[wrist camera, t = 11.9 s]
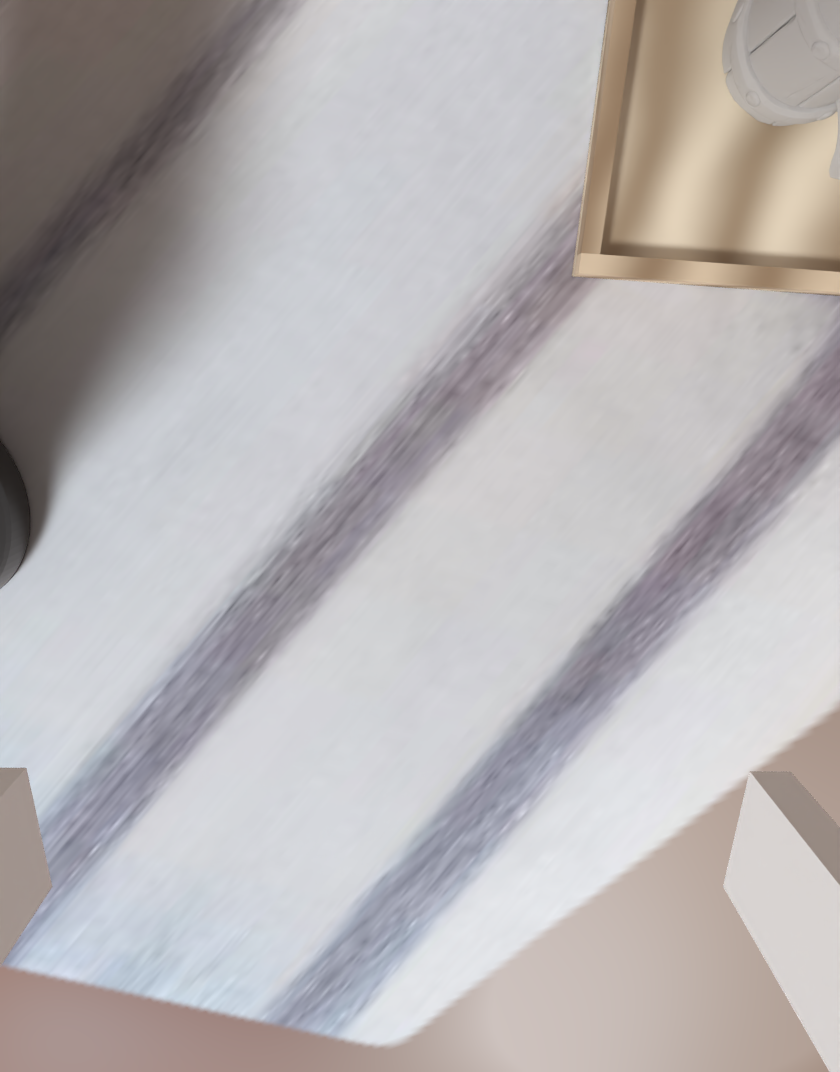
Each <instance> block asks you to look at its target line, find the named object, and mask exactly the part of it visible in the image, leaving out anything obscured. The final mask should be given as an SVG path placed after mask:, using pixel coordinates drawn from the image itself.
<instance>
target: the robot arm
mask: <svg viewBox="0 0 840 1072" xmlns="http://www.w3.org/2000/svg"><path fill="white" fill-rule="evenodd" d="M29 530H30V513H29V505H28V499H27V495H26V491H25V488H24V484H23V481H22V479H21V476H20V474H19V471H18V469H17V467H16V465H15V463H14V461H13V460H12V458H11V456H10V454H9V453H8V451H7V450H6V448H5V447H4V445H3V444H2V443H1V441H0V589H1V588H2V587H3V586H4V585H5V584H6V583H7V582H8V581H9V580H10V578H11V577H12V576H13V575H14V573H15V572H16V570H17V569H18V567H19V565H20V563H21V561H22V559H23V556H24V554H25V551H26V547H27V543H28V538H29ZM723 887H724V889H725V891H726V892H727V894H728V896H729V897H730V899H731V901H732V902H733V905H734V906H735V908H736V910H737V912H738V913H739V915H740V917H741V918H742V920H743V922H744V923H745V925H746V927H747V929H748V931H749V932H750V934H751V936H752V937H753V939H754V941H755V943H756V945H757V946H758V948H759V950H760V951H761V953H762V955H763V956H764V958H765V960H766V962H767V964H768V965H769V967H770V969H771V971H772V972H773V974H774V976H775V978H776V979H777V981H778V983H779V985H780V986H781V988H782V990H783V992H784V993H785V995H786V997H787V998H788V1000H789V1002H790V1004H791V1005H792V1007H793V1009H794V1011H795V1012H796V1014H797V1016H798V1017H799V1019H800V1021H801V1023H802V1025H803V1026H804V1028H805V1030H806V1031H807V1033H808V1035H809V1037H810V1038H811V1040H812V1042H813V1044H814V1045H815V1047H816V1049H817V1051H818V1052H819V1054H820V1056H821V1058H822V1059H823V1061H824V1063H825V1065H826V1066H827V1068H828V1070H829V1071H830V1072H840V827H839V826H838V825H837V824H836V822H835V821H834V820H833V819H832V818H831V817H830V816H829V815H828V813H827V812H826V811H825V810H824V809H823V808H822V807H821V806H820V804H819V803H818V802H817V801H816V800H815V799H814V798H813V797H812V795H811V794H810V793H809V792H808V791H807V790H806V788H805V787H804V786H803V785H802V784H801V783H800V782H799V781H798V779H797V778H796V777H795V776H794V775H793V774H792V773H791V772H751V771H750V773H749V777H748V781H747V786H746V790H745V794H744V799H743V803H742V807H741V812H740V816H739V820H738V825H737V829H736V833H735V838H734V842H733V846H732V851H731V855H730V859H729V864H728V868H727V873H726V877H725V881H724V885H723ZM51 888H52V884H51V879H50V874H49V870H48V865H47V861H46V856H45V851H44V847H43V842H42V838H41V833H40V828H39V824H38V819H37V815H36V810H35V806H34V801H33V796H32V792H31V787H30V783H29V778H28V773H27V769H26V768H0V966H1V965H2V963H3V962H4V960H5V959H6V957H7V956H8V954H9V952H10V951H11V949H12V948H13V946H14V945H15V943H16V942H17V940H18V939H19V937H20V935H21V934H22V932H23V931H24V929H25V928H26V926H27V925H28V923H29V922H30V920H31V919H32V917H33V915H34V914H35V912H36V911H37V909H38V908H39V906H40V905H41V903H42V902H43V900H44V898H45V897H46V895H47V894H48V892H49V891H50V889H51Z"/></svg>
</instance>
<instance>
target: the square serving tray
mask: <svg viewBox="0 0 840 1072" xmlns="http://www.w3.org/2000/svg"><path fill="white" fill-rule="evenodd" d="M737 1H738V0H608V7H607V15H606V22H605V30H604V38H603V45H602V53H601V60H600V68H599V75H598V83H597V90H596V98H595V106H594V113H593V121H592V128H591V136H590V143H589V151H588V158H587V166H586V174H585V181H584V189H583V196H582V204H581V211H580V219H579V227H578V234H577V242H576V249H575V257H574V264H573V272H572V276H574V277H588V278H602V279H615V280H629V281H643V282H656V283H670V284H684V285H698V286H711V287H725V288H739V289H752V290H766V291H780V292H794V293H807V294H821V295H835V296H840V180H838V179H834V178H831V177H830V174H829V169H830V165H831V161H832V158H833V155H834V152H835V149H836V144H837V137H838V113H837V112H835V114H834V115H832V116H830V117H829V118H826V119H824V120H818V121H815V122H811V123H806V124H794V125H789V126H772V124H766V123H763V122H759V121H757V120H756V119H755V118H753V117H752V116H751V115H750V114H748V113H747V112H746V111H745V110H744V109H742V108H741V107H740V106H739V105H738V104H737V102H736V101H735V100H734V99H733V97H732V95H731V94H730V92H729V90H728V87H727V85H726V76H727V74H728V73H729V72H728V73H724V70H723V64H722V50H723V42H724V37H725V33H726V30H727V27H728V24H729V22H730V19H731V17H732V14H733V12H734V9H735V6H736V4H737Z"/></svg>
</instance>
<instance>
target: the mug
mask: <svg viewBox="0 0 840 1072" xmlns="http://www.w3.org/2000/svg"><path fill="white" fill-rule="evenodd" d="M722 64H723V70H724V73H728V72H729V73H728V74H727V76H726V85H727V87H728V90H729V92H730V94H731V95H732V97H733V99H734V100H735V101H736V102H737V104H738V105H739V106H740V107H741V108H742V109H744V110H745V111H746V112H747V113H748V114H750V115H751V116H752V117H753V118H755V119H756V120H757V121H759V122H763V123H766V124H772V126H789V125H794V124H806V123H811V122H815V121H818V120H824V119H826V118H829V117H830V116H832V115H834V114H835V112H837V113H838V137H837V144H836V149H835V152H834V155H833V158H832V161H831V165H830V169H829V174H830V177H831V178H834V179H838V180H840V0H738V1H737V4H736V6H735V9H734V12H733V14H732V17H731V19H730V22H729V24H728V27H727V30H726V33H725V37H724V42H723V50H722Z"/></svg>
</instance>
